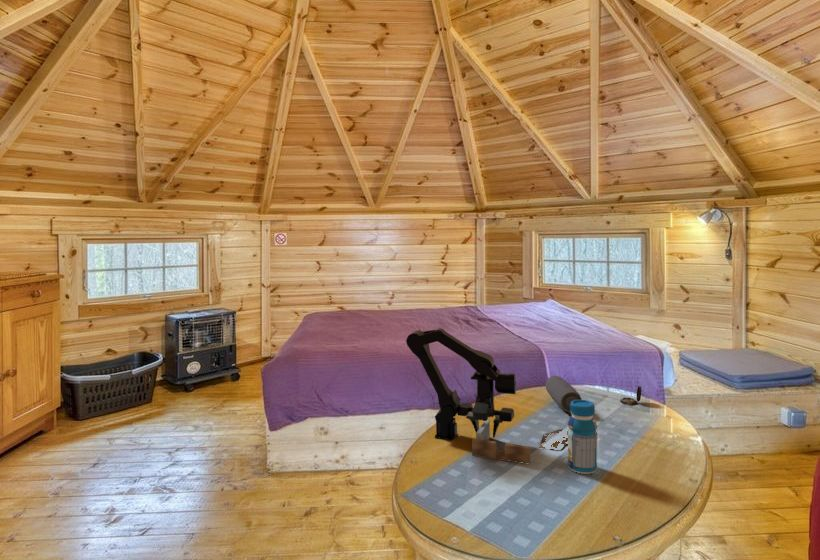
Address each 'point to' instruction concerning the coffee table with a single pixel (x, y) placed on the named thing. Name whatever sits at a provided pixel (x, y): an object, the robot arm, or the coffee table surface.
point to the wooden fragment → (553, 443)
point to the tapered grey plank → (484, 431)
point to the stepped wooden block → (500, 451)
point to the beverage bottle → (582, 437)
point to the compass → (630, 400)
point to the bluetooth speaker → (561, 392)
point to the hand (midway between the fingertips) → (485, 436)
